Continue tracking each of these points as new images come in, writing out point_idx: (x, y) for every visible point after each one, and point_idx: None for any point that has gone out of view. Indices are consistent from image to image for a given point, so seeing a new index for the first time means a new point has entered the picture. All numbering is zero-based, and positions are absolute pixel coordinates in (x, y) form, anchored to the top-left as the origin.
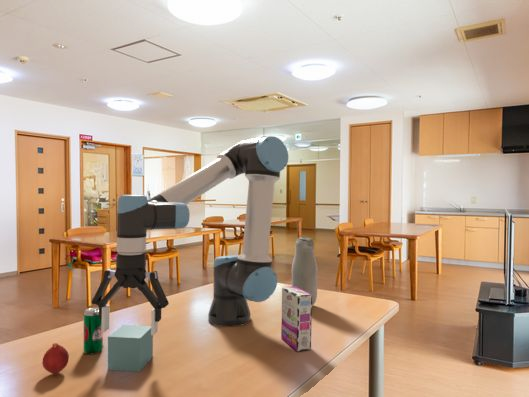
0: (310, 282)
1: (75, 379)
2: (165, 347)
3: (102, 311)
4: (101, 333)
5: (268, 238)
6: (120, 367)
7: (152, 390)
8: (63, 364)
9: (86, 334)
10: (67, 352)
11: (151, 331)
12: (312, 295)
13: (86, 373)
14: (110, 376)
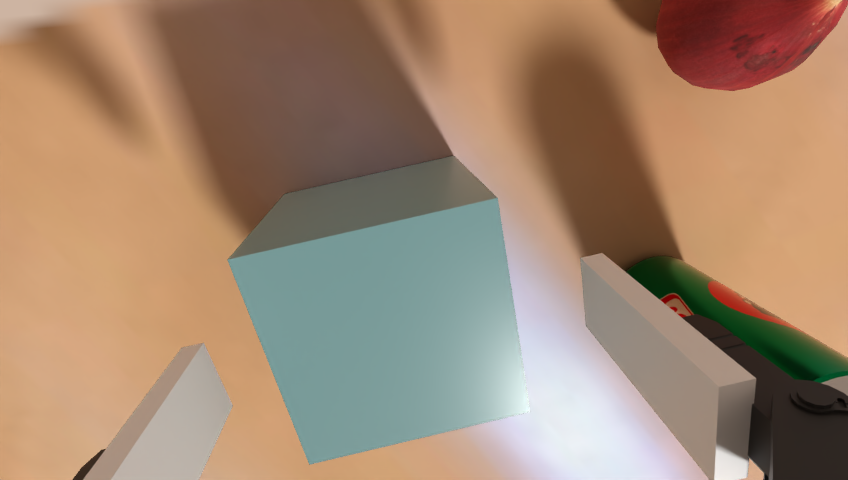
0: None
1: (544, 7)
2: None
3: (710, 350)
4: None
5: None
6: (386, 172)
7: (67, 37)
8: (665, 3)
9: (733, 298)
10: (709, 60)
11: (186, 360)
12: None
13: (532, 84)
14: (391, 98)
